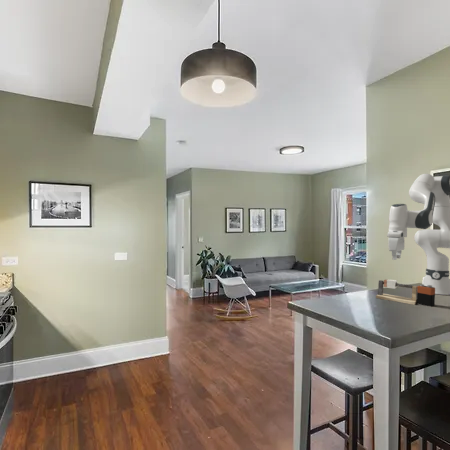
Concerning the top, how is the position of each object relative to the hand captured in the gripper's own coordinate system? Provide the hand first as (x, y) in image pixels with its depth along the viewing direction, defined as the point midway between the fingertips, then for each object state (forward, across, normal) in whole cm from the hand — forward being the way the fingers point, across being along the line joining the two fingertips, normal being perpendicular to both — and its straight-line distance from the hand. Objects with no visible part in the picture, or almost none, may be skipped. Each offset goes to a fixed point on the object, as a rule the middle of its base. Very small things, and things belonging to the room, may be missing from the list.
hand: (396, 258), depth 166 cm
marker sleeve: (+15, +3, -1) cm, 16 cm away
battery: (+22, +2, +14) cm, 26 cm away
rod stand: (+22, +3, +2) cm, 22 cm away
